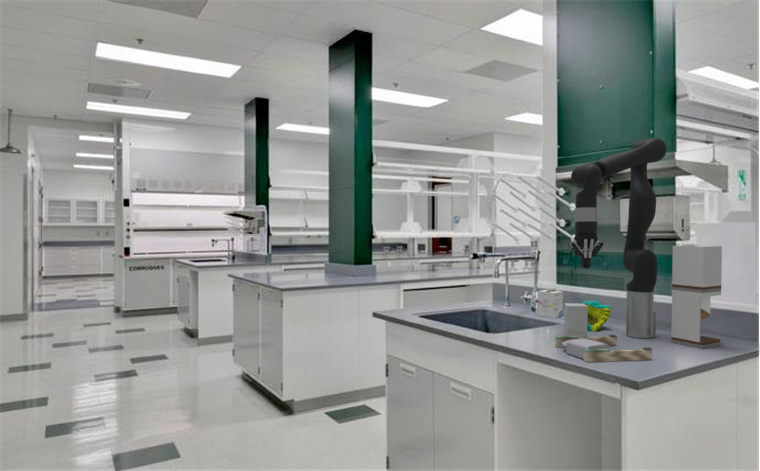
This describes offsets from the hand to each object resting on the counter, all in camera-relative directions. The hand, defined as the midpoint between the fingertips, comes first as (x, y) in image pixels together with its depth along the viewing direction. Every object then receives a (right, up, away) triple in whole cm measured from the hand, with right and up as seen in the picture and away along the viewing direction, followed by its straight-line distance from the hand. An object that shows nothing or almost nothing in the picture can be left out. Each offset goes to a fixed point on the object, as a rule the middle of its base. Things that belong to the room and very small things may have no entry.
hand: (585, 268), depth 181 cm
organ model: (+13, -27, +26) cm, 39 cm away
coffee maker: (+38, -27, -2) cm, 47 cm away
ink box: (+5, -26, +53) cm, 59 cm away
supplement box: (-1, -27, +7) cm, 28 cm away
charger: (-9, -28, -16) cm, 33 cm away
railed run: (-1, -27, -15) cm, 31 cm away
